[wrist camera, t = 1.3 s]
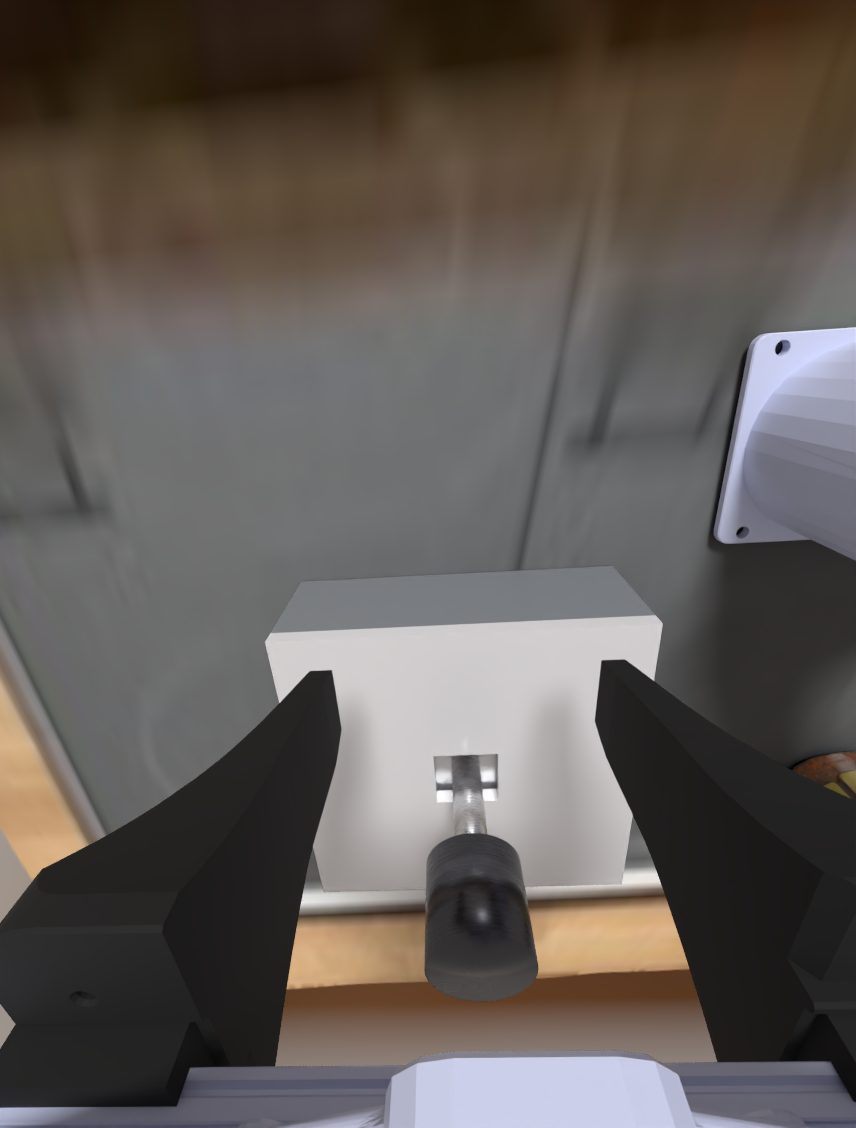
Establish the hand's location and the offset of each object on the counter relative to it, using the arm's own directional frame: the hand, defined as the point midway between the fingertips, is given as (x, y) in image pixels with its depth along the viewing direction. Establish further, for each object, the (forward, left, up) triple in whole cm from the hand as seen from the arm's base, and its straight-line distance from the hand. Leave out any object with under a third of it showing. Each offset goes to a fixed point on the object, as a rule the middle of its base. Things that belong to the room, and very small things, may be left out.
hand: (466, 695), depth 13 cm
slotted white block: (0, +8, -9) cm, 12 cm away
